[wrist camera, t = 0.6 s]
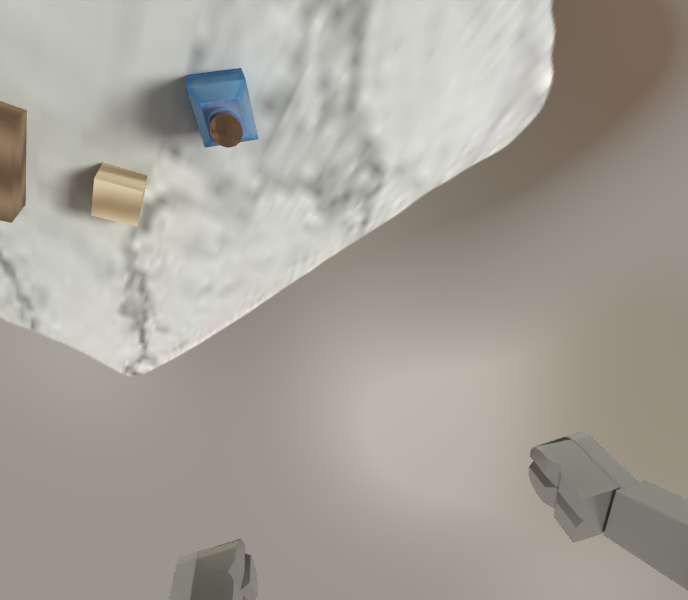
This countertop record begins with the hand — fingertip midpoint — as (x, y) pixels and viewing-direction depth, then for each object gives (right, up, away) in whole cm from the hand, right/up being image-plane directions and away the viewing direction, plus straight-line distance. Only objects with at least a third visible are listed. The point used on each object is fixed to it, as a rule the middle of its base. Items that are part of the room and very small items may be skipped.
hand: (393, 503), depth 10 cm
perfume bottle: (-16, +30, +35) cm, 49 cm away
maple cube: (-31, +21, +38) cm, 53 cm away
